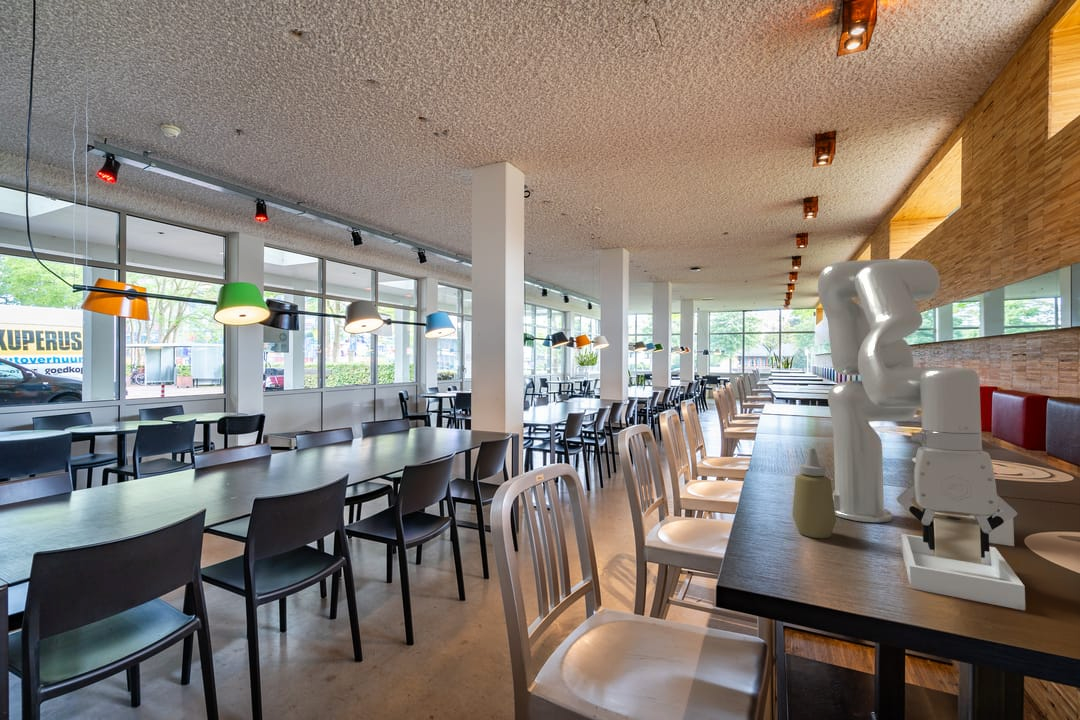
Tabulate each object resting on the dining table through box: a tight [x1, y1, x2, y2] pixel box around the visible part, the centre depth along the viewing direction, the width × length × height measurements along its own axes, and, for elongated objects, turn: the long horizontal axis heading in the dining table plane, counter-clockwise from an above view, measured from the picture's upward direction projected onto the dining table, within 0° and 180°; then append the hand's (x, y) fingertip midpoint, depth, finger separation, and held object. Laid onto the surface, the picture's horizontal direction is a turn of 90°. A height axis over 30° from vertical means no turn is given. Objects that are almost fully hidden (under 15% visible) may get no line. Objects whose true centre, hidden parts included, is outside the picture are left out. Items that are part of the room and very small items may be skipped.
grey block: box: [969, 507, 1015, 547], centre depth 95 cm, size 6×6×6 cm
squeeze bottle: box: [792, 447, 837, 539], centre depth 99 cm, size 8×8×18 cm
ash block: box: [932, 511, 981, 564], centre depth 78 cm, size 6×6×6 cm
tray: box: [900, 533, 1026, 611], centre depth 78 cm, size 13×17×4 cm
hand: (955, 550), depth 78 cm, fingers closed on ash block, 5 cm apart
